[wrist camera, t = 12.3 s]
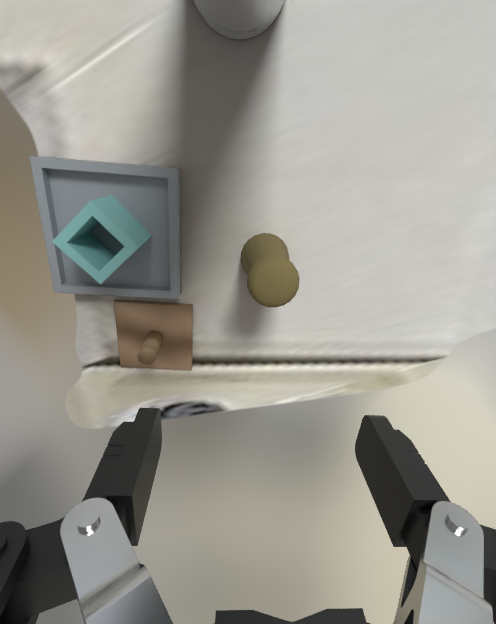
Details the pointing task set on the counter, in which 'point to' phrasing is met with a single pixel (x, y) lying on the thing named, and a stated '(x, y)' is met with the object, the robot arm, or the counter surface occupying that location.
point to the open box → (90, 249)
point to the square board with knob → (154, 334)
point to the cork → (269, 270)
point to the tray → (136, 200)
